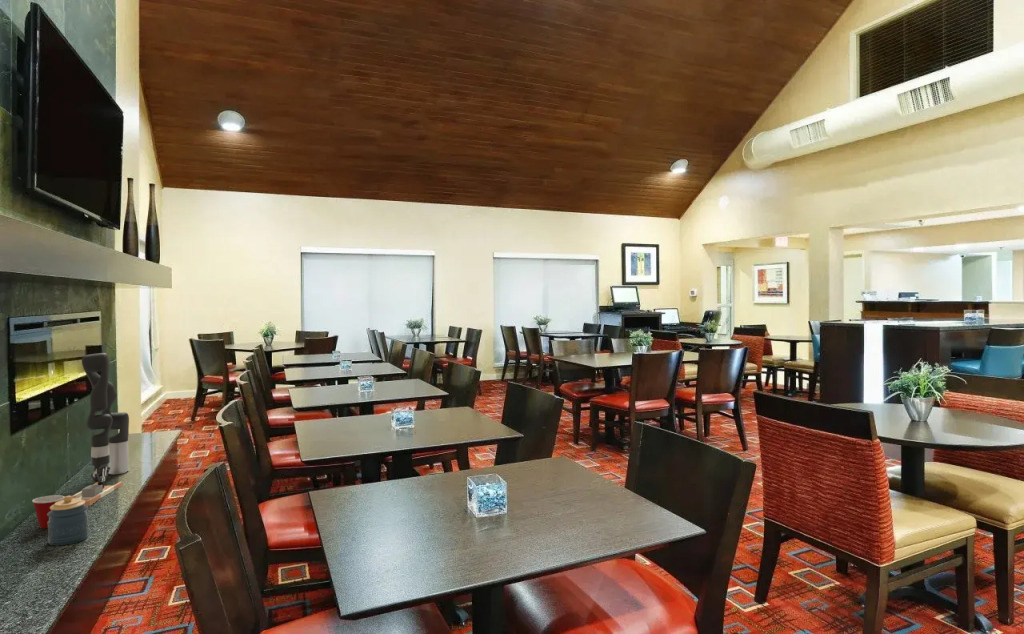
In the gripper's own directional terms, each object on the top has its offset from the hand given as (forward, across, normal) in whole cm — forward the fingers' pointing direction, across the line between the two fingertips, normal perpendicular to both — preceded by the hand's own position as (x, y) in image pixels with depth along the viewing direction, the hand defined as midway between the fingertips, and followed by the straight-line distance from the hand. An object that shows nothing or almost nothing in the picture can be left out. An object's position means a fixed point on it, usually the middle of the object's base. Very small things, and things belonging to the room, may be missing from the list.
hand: (101, 489), depth 291 cm
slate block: (+1, +7, 0) cm, 7 cm away
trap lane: (+1, +6, 0) cm, 7 cm away
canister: (+1, +62, +20) cm, 66 cm away
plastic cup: (+1, +45, +3) cm, 46 cm away
